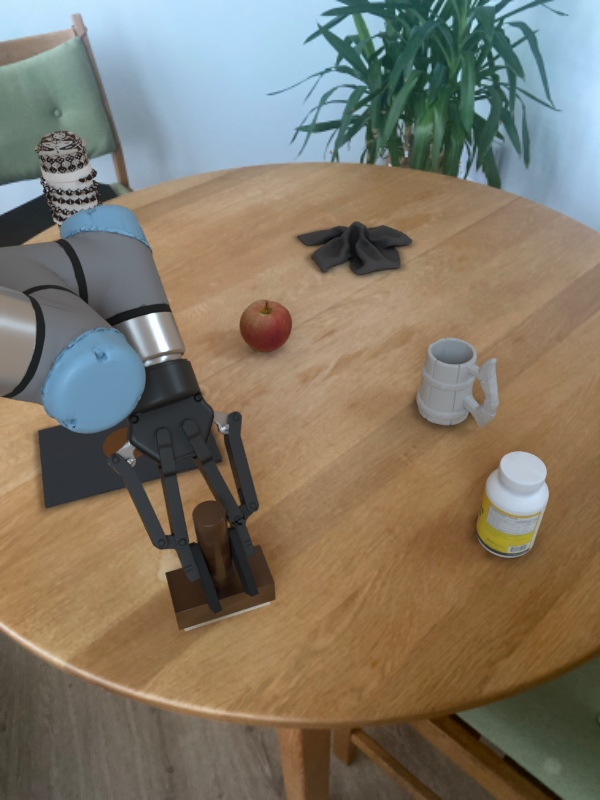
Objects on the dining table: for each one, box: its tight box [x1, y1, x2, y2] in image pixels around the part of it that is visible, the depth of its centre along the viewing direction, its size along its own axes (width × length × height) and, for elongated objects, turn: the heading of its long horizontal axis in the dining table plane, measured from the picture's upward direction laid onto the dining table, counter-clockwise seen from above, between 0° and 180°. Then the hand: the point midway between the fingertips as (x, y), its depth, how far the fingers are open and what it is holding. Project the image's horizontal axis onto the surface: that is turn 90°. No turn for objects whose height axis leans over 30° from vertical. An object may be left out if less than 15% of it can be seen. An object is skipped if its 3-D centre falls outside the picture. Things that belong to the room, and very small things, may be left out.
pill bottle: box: [475, 450, 550, 559], centre depth 73 cm, size 6×6×12 cm
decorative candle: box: [34, 130, 104, 239], centre depth 115 cm, size 9×9×25 cm
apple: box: [239, 299, 293, 353], centre depth 103 cm, size 8×8×8 cm
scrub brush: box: [164, 499, 277, 632], centre depth 65 cm, size 10×5×14 cm, turn 110°
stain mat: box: [37, 419, 223, 509], centre depth 89 cm, size 22×14×1 cm, turn 110°
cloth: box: [296, 220, 413, 276], centre depth 126 cm, size 22×19×6 cm
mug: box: [415, 337, 500, 428], centre depth 88 cm, size 8×12×12 cm, turn 41°
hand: (233, 600), depth 64 cm, fingers closed on scrub brush, 3 cm apart
